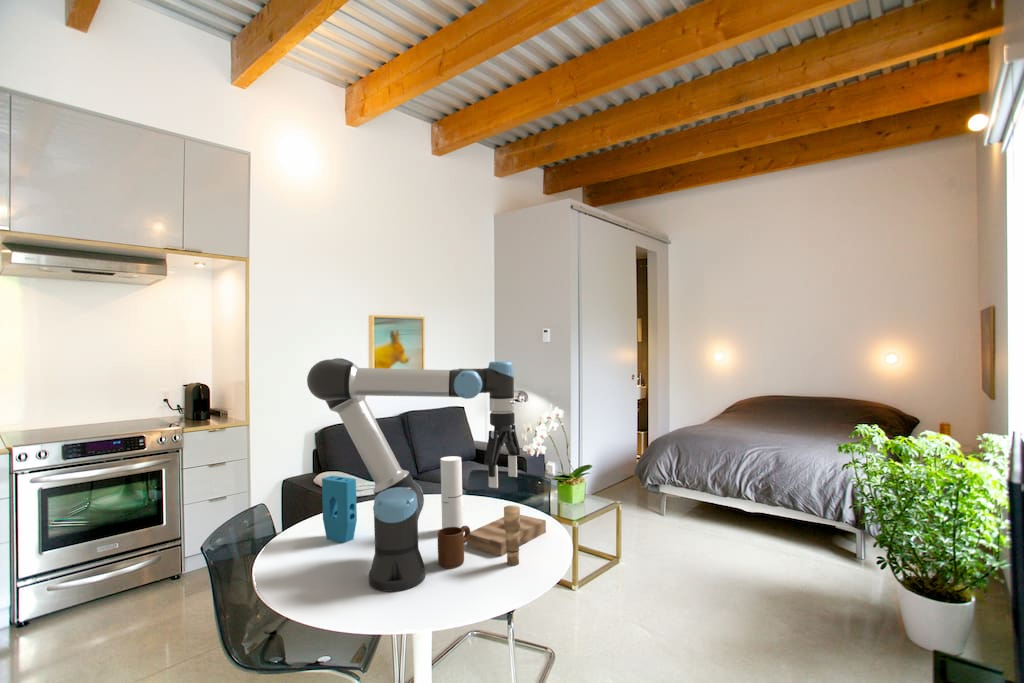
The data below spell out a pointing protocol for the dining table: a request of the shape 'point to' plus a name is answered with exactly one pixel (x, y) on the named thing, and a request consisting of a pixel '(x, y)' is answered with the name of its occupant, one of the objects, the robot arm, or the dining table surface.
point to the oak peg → (512, 533)
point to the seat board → (504, 534)
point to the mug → (452, 546)
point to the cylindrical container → (451, 492)
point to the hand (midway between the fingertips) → (503, 481)
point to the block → (339, 508)
